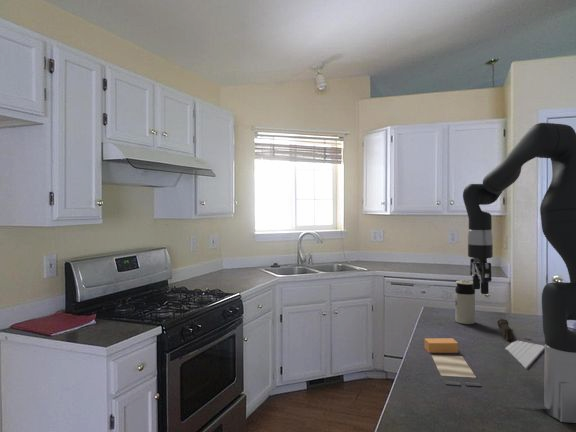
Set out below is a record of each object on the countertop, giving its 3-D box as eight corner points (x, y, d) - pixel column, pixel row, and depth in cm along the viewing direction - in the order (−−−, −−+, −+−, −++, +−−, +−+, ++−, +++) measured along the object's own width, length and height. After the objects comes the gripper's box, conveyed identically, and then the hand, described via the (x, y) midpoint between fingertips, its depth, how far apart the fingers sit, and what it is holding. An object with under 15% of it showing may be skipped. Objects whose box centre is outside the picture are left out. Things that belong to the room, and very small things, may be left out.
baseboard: (481, 366, 137) (521, 376, 128) (481, 357, 137) (521, 367, 128) (509, 342, 159) (545, 349, 151) (509, 334, 159) (545, 342, 151)
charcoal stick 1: (459, 389, 120) (460, 392, 118) (444, 387, 121) (445, 390, 119) (459, 382, 120) (460, 385, 118) (444, 380, 121) (445, 383, 119)
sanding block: (458, 357, 144) (458, 343, 143) (428, 357, 144) (428, 343, 144) (452, 352, 149) (452, 338, 148) (424, 352, 149) (424, 338, 149)
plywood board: (476, 382, 123) (476, 377, 123) (440, 380, 125) (440, 375, 125) (462, 360, 140) (462, 356, 140) (431, 359, 142) (431, 354, 142)
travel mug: (476, 321, 185) (476, 281, 185) (473, 325, 179) (473, 284, 178) (457, 318, 190) (457, 279, 189) (453, 323, 183) (453, 282, 182)
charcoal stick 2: (479, 389, 119) (481, 392, 117) (464, 388, 120) (466, 392, 118) (479, 382, 119) (481, 386, 117) (464, 382, 120) (466, 385, 118)
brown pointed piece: (497, 327, 177) (497, 316, 176) (508, 328, 175) (508, 317, 175) (500, 341, 159) (500, 329, 159) (511, 342, 158) (512, 330, 158)
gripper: (499, 244, 132) (500, 295, 132) (484, 241, 146) (485, 287, 146) (474, 244, 133) (475, 295, 133) (462, 241, 147) (462, 287, 147)
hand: (480, 291), depth 140 cm, fingers open, 8 cm apart
